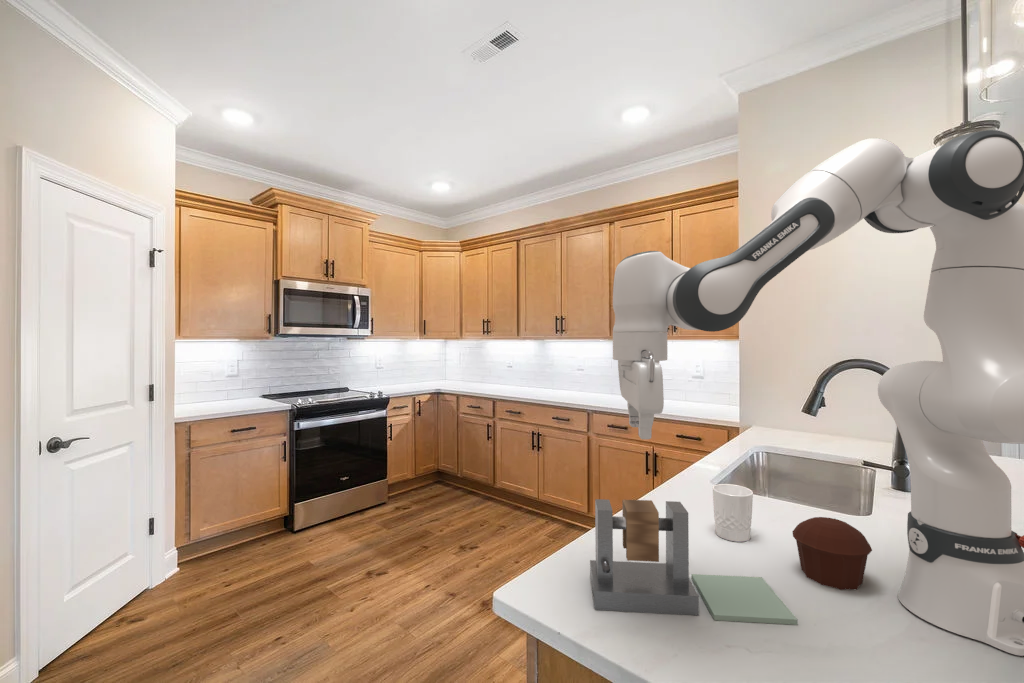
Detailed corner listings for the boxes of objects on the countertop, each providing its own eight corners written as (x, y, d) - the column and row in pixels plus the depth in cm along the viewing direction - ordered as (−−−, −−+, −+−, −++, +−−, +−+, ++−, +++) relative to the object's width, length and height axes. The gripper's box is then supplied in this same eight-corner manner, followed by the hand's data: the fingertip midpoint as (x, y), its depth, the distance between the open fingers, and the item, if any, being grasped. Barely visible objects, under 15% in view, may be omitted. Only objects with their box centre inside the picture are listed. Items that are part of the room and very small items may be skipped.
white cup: (718, 524, 104) (718, 481, 104) (756, 534, 99) (756, 488, 99) (708, 536, 98) (708, 490, 98) (748, 547, 93) (748, 498, 93)
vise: (681, 580, 80) (681, 496, 80) (698, 615, 70) (698, 519, 70) (590, 576, 82) (589, 494, 82) (594, 609, 72) (593, 515, 72)
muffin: (855, 566, 85) (855, 513, 85) (885, 598, 74) (885, 538, 74) (784, 557, 88) (784, 506, 88) (802, 587, 78) (802, 529, 78)
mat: (761, 581, 80) (761, 577, 80) (797, 624, 68) (797, 619, 68) (691, 578, 81) (691, 574, 81) (714, 620, 69) (714, 614, 69)
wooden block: (652, 546, 78) (651, 500, 78) (658, 561, 73) (658, 512, 73) (622, 545, 79) (622, 499, 79) (627, 560, 74) (627, 511, 73)
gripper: (674, 351, 65) (674, 447, 65) (647, 348, 85) (647, 421, 85) (630, 351, 66) (629, 446, 66) (613, 348, 86) (613, 420, 86)
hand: (639, 432), depth 76 cm, fingers open, 8 cm apart
